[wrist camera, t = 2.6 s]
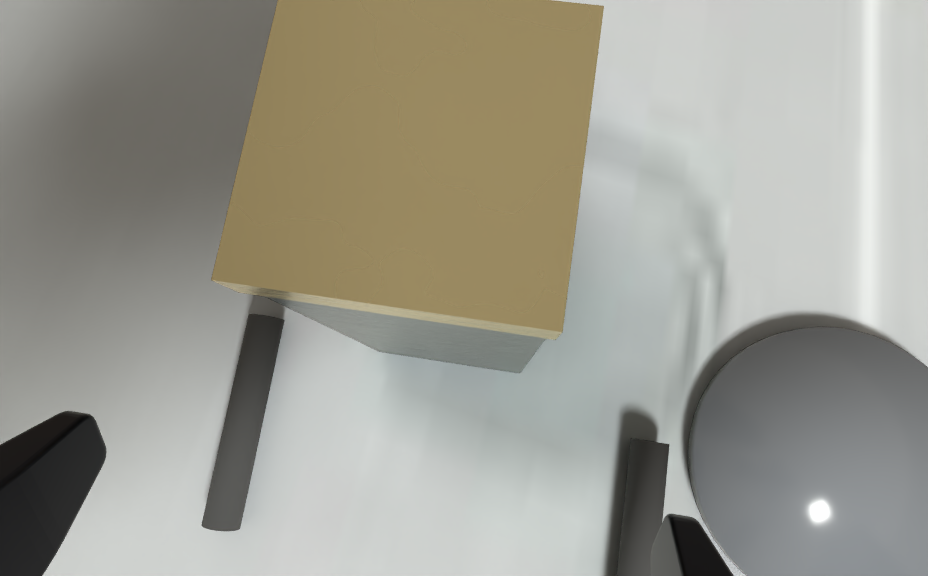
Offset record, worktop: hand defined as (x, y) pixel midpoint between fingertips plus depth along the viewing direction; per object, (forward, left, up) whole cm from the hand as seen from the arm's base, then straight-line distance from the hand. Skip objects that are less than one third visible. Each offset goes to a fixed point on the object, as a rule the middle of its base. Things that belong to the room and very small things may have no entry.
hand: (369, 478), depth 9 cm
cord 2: (-6, +3, -12) cm, 13 cm away
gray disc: (+12, -4, -12) cm, 17 cm away
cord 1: (+5, -5, -12) cm, 14 cm away
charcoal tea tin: (+2, +5, -12) cm, 13 cm away
